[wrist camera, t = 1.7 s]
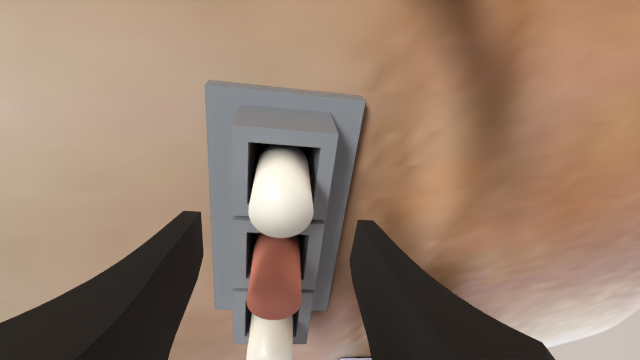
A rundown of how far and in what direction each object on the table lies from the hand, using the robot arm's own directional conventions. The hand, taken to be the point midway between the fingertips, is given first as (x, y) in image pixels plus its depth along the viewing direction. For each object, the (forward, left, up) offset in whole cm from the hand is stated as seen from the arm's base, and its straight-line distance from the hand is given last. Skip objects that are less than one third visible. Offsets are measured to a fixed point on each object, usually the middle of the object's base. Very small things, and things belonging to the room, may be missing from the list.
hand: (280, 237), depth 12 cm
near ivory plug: (0, 0, -6) cm, 6 cm away
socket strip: (0, +6, -10) cm, 11 cm away
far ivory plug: (0, +11, -6) cm, 13 cm away
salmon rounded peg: (0, +6, -6) cm, 8 cm away
